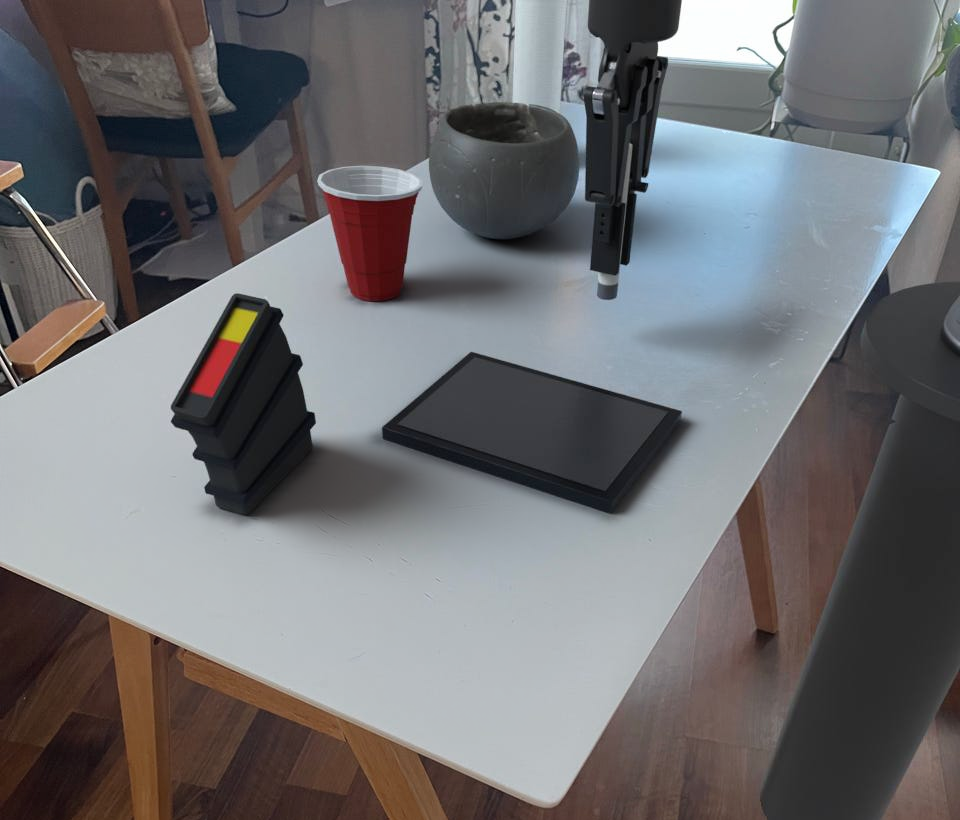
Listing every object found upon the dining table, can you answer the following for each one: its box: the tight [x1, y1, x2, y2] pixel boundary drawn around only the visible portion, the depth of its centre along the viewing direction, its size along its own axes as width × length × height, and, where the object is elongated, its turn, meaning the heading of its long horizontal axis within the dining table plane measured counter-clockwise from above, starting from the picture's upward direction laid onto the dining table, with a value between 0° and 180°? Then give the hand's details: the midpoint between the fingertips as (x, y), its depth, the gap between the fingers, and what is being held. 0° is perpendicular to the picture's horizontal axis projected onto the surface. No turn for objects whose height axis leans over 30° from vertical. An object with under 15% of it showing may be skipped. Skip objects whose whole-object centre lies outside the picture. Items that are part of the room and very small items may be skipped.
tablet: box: [381, 351, 683, 514], centre depth 86 cm, size 22×16×1 cm
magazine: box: [170, 292, 317, 516], centre depth 77 cm, size 4×13×15 cm, turn 157°
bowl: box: [428, 101, 580, 240], centre depth 115 cm, size 18×18×13 cm
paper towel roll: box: [512, 0, 568, 114], centre depth 130 cm, size 7×6×21 cm
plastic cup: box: [317, 165, 424, 302], centre depth 103 cm, size 11×11×12 cm
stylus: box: [596, 143, 632, 301], centre depth 91 cm, size 2×2×14 cm
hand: (609, 265), depth 94 cm, fingers closed on stylus, 2 cm apart
